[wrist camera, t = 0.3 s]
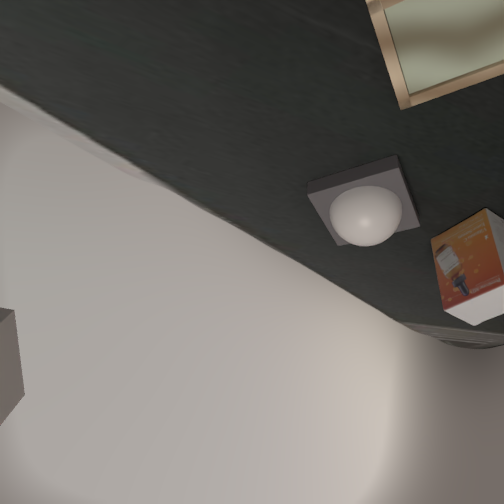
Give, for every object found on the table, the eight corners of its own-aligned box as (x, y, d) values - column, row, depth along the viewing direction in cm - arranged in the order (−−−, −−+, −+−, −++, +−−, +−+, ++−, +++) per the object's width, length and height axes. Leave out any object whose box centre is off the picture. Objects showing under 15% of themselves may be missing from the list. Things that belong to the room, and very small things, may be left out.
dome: (307, 170, 52) (306, 222, 47) (394, 141, 47) (403, 196, 43) (337, 222, 59) (339, 272, 54) (415, 201, 54) (425, 253, 49)
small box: (485, 205, 51) (509, 282, 45) (515, 225, 53) (541, 301, 47) (428, 239, 57) (442, 311, 50) (457, 255, 59) (473, 327, 53)
